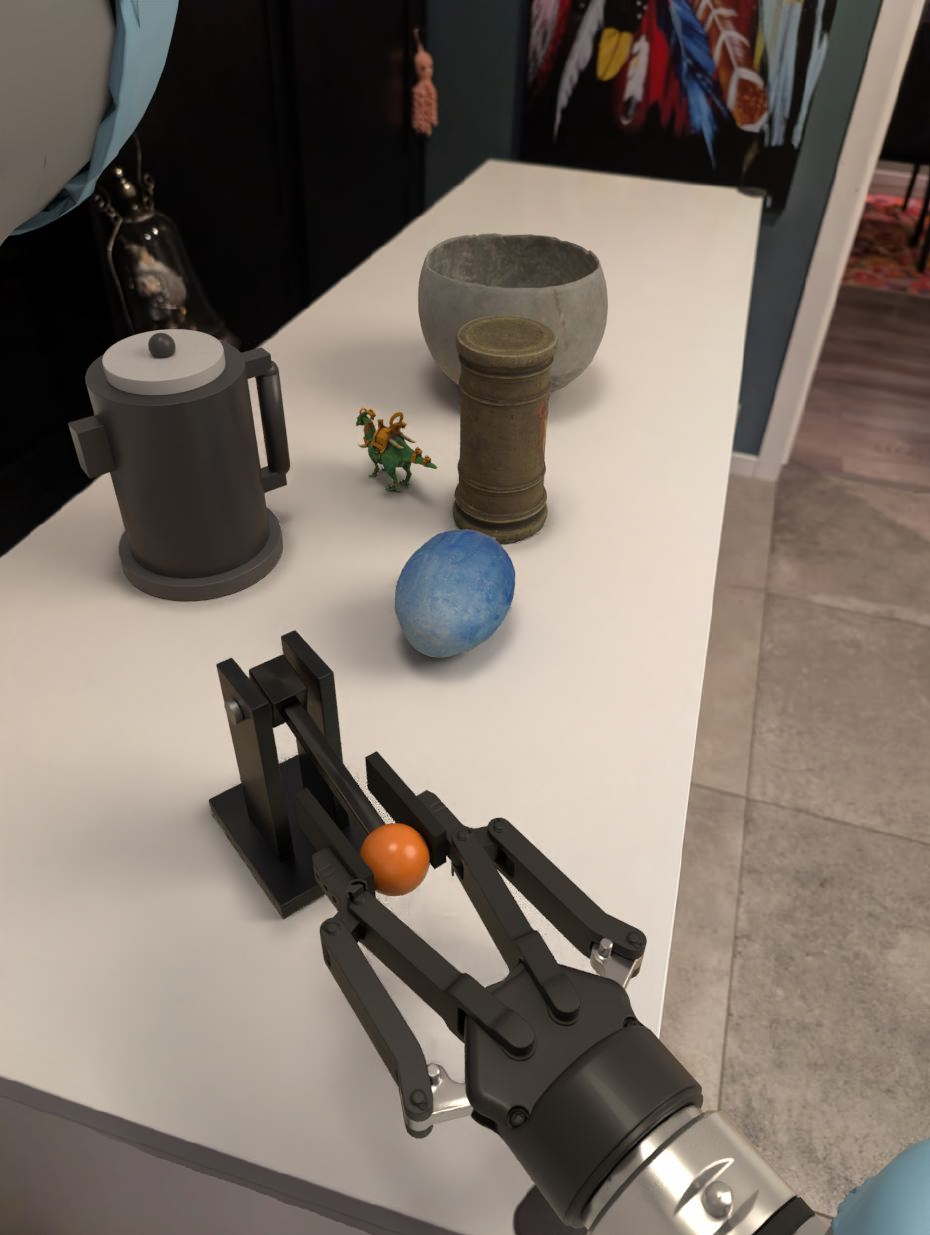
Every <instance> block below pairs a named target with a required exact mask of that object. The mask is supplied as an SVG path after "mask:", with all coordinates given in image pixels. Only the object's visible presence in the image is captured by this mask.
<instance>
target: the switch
mask: <svg viewBox="0 0 930 1235" xmlns="http://www.w3.org/2000/svg"><path fill="white" fill-rule="evenodd" d="M248 678H249V679H250V680H251V682H252V683H253V684H254V685H255V686H256V688H257V689H258V690H259V691H260V693H261V694H262V695H263V696H264V698H265V699H266V700H267V701H268V703H269V708H270V714H271V719H272V725H273V729H275V728H278V727H279V726H282V725H283V724H286V725H287V727H288V729H289V730H290V732H291V733H292V735H293V736H294V737H295V740H296V739H297V740H298V742H299V743H300V744H301V746H302V747H303V749H304V750H305V752H306V753H307V755H308V756H309V758H310V759H311V761H312V762H313V764H314V765H315V767H316V768H317V770H318V771H319V772H320V774H321V775H322V777H323V778H324V780H325V781H326V783H327V784H328V786H329V787H330V789H331V790H332V792H333V793H334V795H335V796H336V797H337V799H338V800H339V802H340V803H341V805H342V806H343V808H344V809H345V811H346V812H347V814H348V815H349V817H350V818H351V820H352V821H353V822H354V824H355V825H356V827H357V828H358V830H359V831H360V833H361V834H362V836H363V837H364V839H365V841H364V842H363V844H362V846H361V849H360V854H359V855H360V856H361V858H362V859H363V860H364V861H365V863H366V864H367V865H368V866H369V868H370V869H371V870H372V872H373V873H374V882H375V893H378V894H381V895H383V896H386V897H401V896H405V895H408V894H409V893H412V892H414V890H416V889H417V888H418V887H419V886H420V885H421V884H422V883H423V882H424V880H425V879H426V877H427V874H428V872H429V869H430V865H431V864H430V854H429V849H428V846H427V844H426V842H425V840H424V838H423V837H422V836H421V834H420V833H418V832H417V831H416V830H415V829H413V828H411V827H410V826H407V825H404V824H399V823H396V822H393V823H392V822H391V823H386V822H385V821H384V820H383V818H382V817H381V815H380V813H379V812H378V811H377V809H376V808H375V806H374V805H373V804H372V802H371V801H370V799H369V797H368V796H367V795H366V793H365V792H364V791H363V789H362V788H361V786H360V785H359V784H358V782H357V781H356V779H355V778H354V776H353V775H352V774H351V772H350V771H349V769H348V768H347V766H346V765H345V763H344V761H343V762H342V761H341V759H340V758H339V756H338V755H337V754H336V752H335V751H334V749H333V748H332V746H331V745H330V744H329V742H328V741H327V739H326V738H325V736H324V735H323V734H322V732H321V731H320V729H319V728H318V726H317V725H316V724H315V722H314V721H313V719H312V718H311V716H310V715H309V713H308V712H307V699H308V688H307V687H306V685H305V684H304V682H303V681H302V680H301V678H300V677H299V675H298V674H297V673H296V671H295V670H294V668H293V667H292V666H291V664H290V663H289V661H288V660H287V659H286V657H285V656H284V655H283V653H282V654H280V655H277V656H276V657H273V658H270V659H269V660H266V661H264V662H261V663H260V664H258V665H255V666H252V667H251V668H248Z"/></svg>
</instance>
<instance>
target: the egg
mask: <svg viewBox="0 0 930 1235" xmlns="http://www.w3.org/2000/svg"><path fill="white" fill-rule="evenodd" d="M496 532H497V530H496ZM515 588H516V571H515V566H514V563H513V560H512V558H511V557H510V555H509V553H508V551H506V549H505V548H504V547H503V546H502V545H501V543H498V542H497V541H496V538H495V537H490V536H488V535H485V534H483V533H481V532H478V531H474V530H468V529H465V530H462V529H452V530H445V531H443V532H439V533H437V534H435V535H434V536H432V537H431V538H430V539H428V540H427V541H426V542H424V544H422V545H421V546H420V547H419V548H418V549H416V550H415V551H414V552H413V553H412V554H411V556H410V557H409V558H408V559H407V561H406V562H405V564H404V566H403V568H402V569H401V572H400V574H399V576H398V578H397V580H396V585H395V589H394V612H395V616H396V620H397V622H398V625H399V626H400V628H401V631H403V634H404V635H405V636H404V637H405V638H406V640H407V641H408V642H409V644H410V645H411V646H412V647H413V648H414V649H415V651H417V652H419V653H421V654H423V655H426V656H428V657H432V658H438V659H439V658H441V659H443V658H450V657H454V656H457V655H461V654H464V653H467V652H468V651H471V650H472V649H474V648H476V647H477V646H479V645H481V644H483V643H484V642H485V641H487V640H488V639H489V638H490V637H491V636H492V635H493V634H494V633H495V632H497V629H498V628H499V627H500V626H501V625H502V623H503V622H504V620H505V618H507V615H508V614H509V611H510V610H511V607H512V604H513V599H514V597H515V590H516V589H515Z"/></svg>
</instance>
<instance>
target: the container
mask: <svg viewBox="0 0 930 1235" xmlns="http://www.w3.org/2000/svg"><path fill="white" fill-rule="evenodd" d="M455 345H456V349H457V351H458V352H459V356H458V358H459V361H460V364H461V376H460V378H459V385H458V386H459V404H460V405H459V407H460V408H459V459H458V461H457V465H456V466H457V474H458V478H457V479H458V481H457V482H458V483H457V485H456V487H455V489H454V494H453V495H454V501H453V505H452V514H453V518H454V521H455V523H456V525H457V526H458V527H459V528H460V530H465V529H468V530H474V531H478V532H481V533H483V534H485V535H488V536H490V537H495V538H496V541H497V542H498V543H499V544H507V543H514V542H519V541H522V540H525V539H528V538H530V537H532V536H533V535H535V534H536V533H538V532H539V531H540V530H541V529H542V527H543V526H544V524H545V523H546V520H547V516H548V512H549V511H548V510H549V509H548V504H547V500H548V492H547V490H546V487H545V476H546V472H547V467H546V466H547V465H546V461H545V458H546V457H545V456H546V442H547V428H548V416H549V400H550V393H549V391H550V389H551V380H550V369H551V367H552V364H553V362H554V355H555V353H556V351H557V349H558V339H557V336H556V333H555V332H554V331H553V329H552V328H551V327H549V326H548V325H546V324H544V323H542V322H540V321H537V320H534V319H531V318H526V317H520V316H509V315H498V316H488V317H482V318H479V319H475V320H473V321H470V322H468V323H467V324H465V325H464V326H462V327H461V329H460V330H459V331H458V333H457V336H456V340H455ZM496 530H497V532H496Z"/></svg>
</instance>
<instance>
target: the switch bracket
mask: <svg viewBox="0 0 930 1235" xmlns="http://www.w3.org/2000/svg"><path fill="white" fill-rule="evenodd" d="M280 642H281V649H282V654H283V655H284V656H285V657H286V659H287V660H288V661H289V663H290V664H291V666H292V667H293V668H294V670H295V671H296V673H297V674H298V675H299V677H300V678H301V680H302V681H303V682H304V684H305V685H306V687H307V688H308V699H307V712H308V713H309V715H310V716H311V718H312V719H313V721H314V722H315V724H316V725H317V726H318V728H319V729H320V731H321V732H322V734H323V735H324V736H325V738H326V739H327V741H328V742H329V744H330V745H331V746H332V748H333V749H334V751H335V752H336V754H337V755H338V756H339V758H340V759H341V761H342V762H343V763H344V757H343V756H344V755H343V747H342V738H341V729H340V728H341V727H340V719H339V708H338V701H337V691H336V690H337V689H336V681H335V672H334V671H333V669H331V668H330V666H329V665H328V664H327V663H326V662H325V660H323V658H321V656H320V655H319V654H317V652H316V651H315V650H314V649H313V647H312V646H310V644H309V643H308V642H307V641H306V640H305V639H304V638H303V637H302V636H301V634H299V632H298V631H297V630H292V631H289V632H287V633H285V634H282V635H281V636H280ZM215 666H216V672H217V676H218V680H219V686H220V691H221V694H222V695H221V696H222V699H223V705H224V706H223V707H224V709H225V713H226V717H227V722H228V728H229V731H230V732H229V733H230V736H231V741H232V746H233V750H234V755H235V760H236V765H237V770H238V774H239V779H240V783H238V784H237V785H236V784H235V785H234V786H232V787H230V788H228V789H226V790H224V791H222V792H221V793H218V794H216V795H214V796H213V797H211V798H209V799H208V804H209V807H210V812H211V813H212V815H213V816H214V818H215V819H216V821H217V822H218V824H219V826H220V828H222V830H223V831H224V833H225V834H226V836H227V837H228V839H229V841H230V842H231V843H232V845H233V846H234V848H235V849H236V851H237V852H238V854H239V855H240V857H241V858H242V860H243V861H244V863H245V865H246V866H247V867H248V869H249V871H250V872H251V873H252V875H253V876H254V878H255V879H256V881H257V883H258V884H259V885H260V887H261V888H262V889H263V891H264V894H266V896H267V897H268V899H269V900H270V901H271V903H272V905H273V907H275V909H276V910H277V912H278V914H279V915H280V917H281V918H282V919H285V918H288V917H289V916H291V915H293V914H294V913H296V912H298V911H299V910H301V909H303V908H304V907H306V906H309V905H310V904H311V903H313V902H315V901H317V900H318V899H320V898H321V897H323V896H324V895H325V896H326V894H325V893H324V891H323V890H322V888H321V887H320V886H319V884H318V883H317V882H316V880H315V874H314V868H313V861H312V855H313V854H314V853H316V852H318V851H317V849H316V848H315V847H314V845H313V844H312V843H311V841H310V840H309V839H308V837H307V836H306V835H305V833H304V832H303V831H302V829H301V828H300V827H299V821H298V815H297V809H296V802H295V796H294V794H296V793H297V792H299V791H301V790H303V789H305V788H308V790H309V791H310V792H311V793H312V795H313V796H314V797H315V799H316V800H317V801H318V802H319V804H320V805H321V806H322V808H323V809H324V810H325V811H326V813H327V814H328V815H329V816H330V818H331V819H332V820H333V822H334V823H335V824H336V825H337V827H338V828H339V829H340V831H341V832H342V833H343V834H344V836H345V837H346V838H347V840H348V841H349V842H350V843H351V845H352V846H353V847H354V849H355V850H356V851H357V852H358V854H360V849H361V846H362V844H363V842H364V841H365V839H364V837H363V836H362V834H361V833H360V831H359V830H358V828H357V827H356V825H355V824H354V822H353V821H352V820H351V818H350V817H349V815H348V814H347V812H346V811H345V809H344V808H343V806H342V805H341V803H340V802H339V800H338V799H337V797H336V796H335V795H334V793H333V792H332V790H331V789H330V787H329V786H328V784H327V783H326V781H325V780H324V778H323V777H322V775H321V774H320V772H319V771H318V770H317V768H316V767H315V765H314V764H313V762H312V761H311V759H310V758H309V756H308V755H307V753H306V752H305V750H304V749H303V747H302V746H301V744H300V743H299V742H298V740H297V739H296V738H295V742H296V747H297V748H296V749H297V754H296V755H294V756H292V757H289V758H288V759H286V760H284V761H282V762H280V761H279V755H278V750H277V744H276V743H277V742H276V738H275V732H274V728H273V725H272V719H271V714H270V708H269V703H268V701H267V700H266V699H265V698H264V696H263V695H262V694H261V693H260V691H259V690H258V689H257V688H256V686H255V685H254V684H253V683H252V682H251V680H250V679H249V676H248V675H247V674H246V673H245V672H244V670H243V669H242V668H241V667H240V665H239V664H238V663H237V662H236V660H235V659H234V658H233V657H230V658H227V659H225V660H222V661H220V662H217V663H216V665H215Z"/></svg>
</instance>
